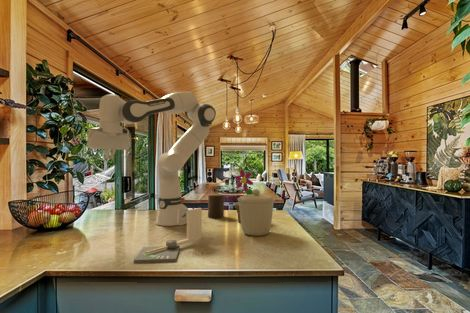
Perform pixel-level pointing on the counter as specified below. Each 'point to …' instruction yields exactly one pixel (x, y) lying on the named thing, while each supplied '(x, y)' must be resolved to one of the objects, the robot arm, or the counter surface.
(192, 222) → the upright cream panel
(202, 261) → the counter surface
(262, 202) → the canister
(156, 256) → the dial board
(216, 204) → the pillar candle
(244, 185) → the flowerpot
